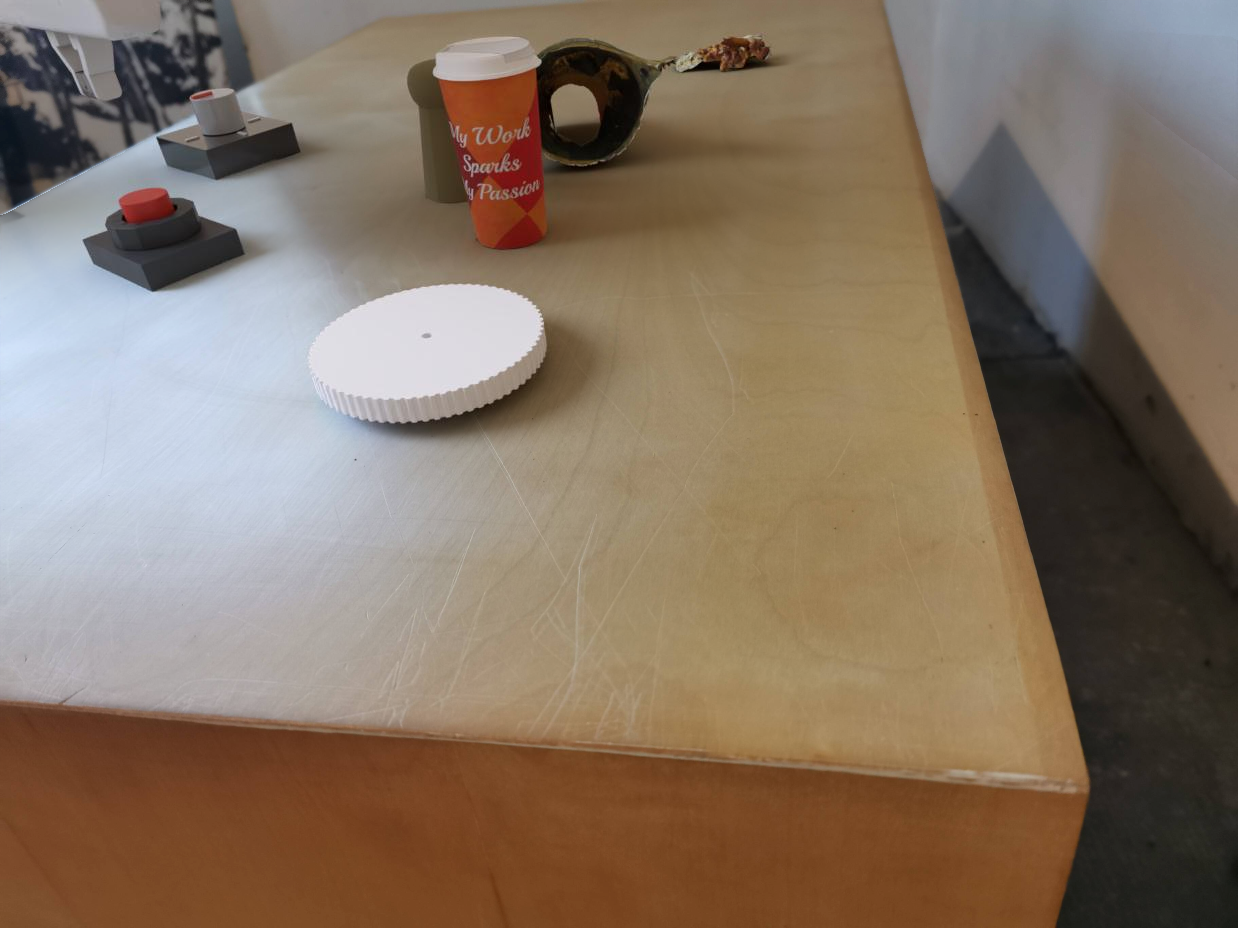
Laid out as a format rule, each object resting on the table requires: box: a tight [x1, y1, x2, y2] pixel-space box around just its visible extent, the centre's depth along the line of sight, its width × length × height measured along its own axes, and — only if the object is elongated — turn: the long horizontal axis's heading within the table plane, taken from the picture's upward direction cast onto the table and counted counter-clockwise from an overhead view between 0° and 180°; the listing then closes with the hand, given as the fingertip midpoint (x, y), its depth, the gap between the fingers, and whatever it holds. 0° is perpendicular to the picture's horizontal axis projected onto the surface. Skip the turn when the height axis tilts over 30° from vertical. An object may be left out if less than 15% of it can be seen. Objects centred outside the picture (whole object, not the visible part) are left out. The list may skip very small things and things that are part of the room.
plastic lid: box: [306, 283, 548, 424], centre depth 52 cm, size 14×14×2 cm
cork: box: [406, 58, 468, 204], centre depth 76 cm, size 6×6×11 cm
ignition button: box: [118, 187, 175, 223], centre depth 68 cm, size 4×4×2 cm
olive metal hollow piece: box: [536, 37, 679, 167], centre depth 84 cm, size 17×11×18 cm
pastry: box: [674, 34, 773, 73], centre depth 108 cm, size 7×12×4 cm, turn 98°
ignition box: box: [81, 197, 246, 293], centre depth 69 cm, size 10×8×4 cm
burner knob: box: [189, 87, 245, 135], centre depth 89 cm, size 4×4×4 cm
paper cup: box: [433, 36, 547, 250], centre depth 65 cm, size 8×8×14 cm
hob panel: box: [155, 111, 301, 181], centre depth 91 cm, size 10×10×3 cm
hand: (103, 97), depth 63 cm, fingers closed
